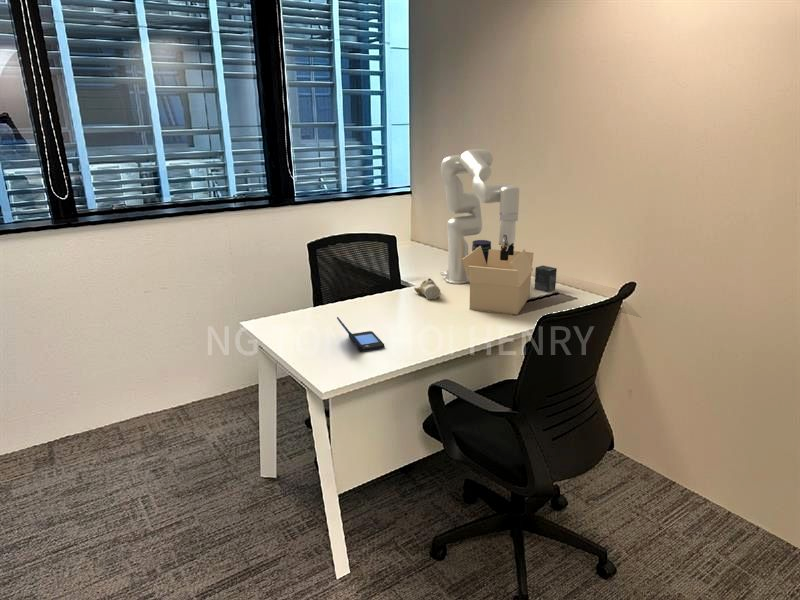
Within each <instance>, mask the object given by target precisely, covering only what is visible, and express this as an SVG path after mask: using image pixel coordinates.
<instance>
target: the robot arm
mask: <svg viewBox="0 0 800 600" xmlns="http://www.w3.org/2000/svg"><path fill="white" fill-rule="evenodd" d="M493 161H494V159H493V155H492V152H490V150H489V149H485V148H481V149H480V148H479V149H467V150H465V151H464V152H463V153H461V154H456V155H455V154H454V155H449V156H446V157H444V158H443V160H442V161H441V165H440V174H441V179H442V180H443V184H444V187H445V198H446V204H447V205H446V206H447V210H448V212H449V213H450V214H451V215H459V216H454V217H451V218H449V220H447V222H446V233H447V240H448V242H447V243H448V245H447V246H448V251H447V252H448V258H447V259H448V263H447V264H448V267H447V269H448V270H447V271H446V270H440V275H441V276H444V281H445V282H446V283H450V284H454V285H455V284H456V285H457V284H458V285H461V284H467V283H470V282H469V279H468V276H467V273H466V270H465V267H464V264H463V261H462V259H463V258H464V257H466V256H467V255H468V254H469V244H468V242H467V241H466V239H465V237H470V236H474V235H475V236H476V235H479V234H480V233H481V232H482V229H483V221H482V217H483V216H482V209H481V203H484V204H494V203H499V216H498V217H499V221H500V225H499V233H498V245H499V246H500V250H501V251H500V260H505V261H507V260H508V255H513V254H514V251H515V242H516V225H517V224H516V222H518V221H519V206H520V205H519V204H520V188H519V187H518V186H515V185H510V184H508V183H494V184H493V183H492V184H486V183H485V182H486V181H487V180H488V179H489V178H490V176H491V175H492V168H491V166H492V164H493ZM458 174H460V175H461V174H462V175H463V174H469V176H471V178H472V182H471V187H472V191H473V192H465V191H464V183H463V181H462V179H461V178H460V177H459V176H458ZM461 214H467V215H463V216H460V215H461Z"/></svg>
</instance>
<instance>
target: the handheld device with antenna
mask: <svg viewBox="0 0 800 600" xmlns="http://www.w3.org/2000/svg"><path fill="white" fill-rule="evenodd" d="M336 319H337V321H338V322H339V324H340V325H341V326H342V328H343V329H344V330H345V332H346V333H347V334H348V338H349V339H350V340H351V342H352V343H353V344H354V345H355V347H356V348H357V350H358V351H359V352H360V353H362V352H367V351H368V352H369V351H373V350H379V349H383V348H385V343H383V341H382V340H381V339H380V338H379V337H378V336H377V334H375V332H373V331H372V330H368V331H362V332H354V333H352V332H351V331H350V330H349V329H348V327H347V326H346V325H345V323H343V321H342V320H341V319H340V318H339V317H338V316H337V317H336Z"/></svg>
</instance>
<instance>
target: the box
mask: <svg viewBox="0 0 800 600" xmlns="http://www.w3.org/2000/svg"><path fill="white" fill-rule="evenodd" d="M557 270H558V269H557V267H551V266H548V265H540V266H536V267H535V272H534V274H535V275H534V276H535V277H534V290H537V291H541V292H546V293H550V292H553V291H556V281H557Z"/></svg>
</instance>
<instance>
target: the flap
mask: <svg viewBox="0 0 800 600" xmlns="http://www.w3.org/2000/svg"><path fill="white" fill-rule="evenodd" d="M519 252H520V253H519V254H518V255H517V257H516V258H515V259H514V260H513V261H512V262H511V263H510V264H511V267H512V269H513V270H518V278H519V286H521V285H522V284H523V282H524V281H525V280H526V278H527V277H528V276H529V275H530V273H531V274H532V272H533V270H534V269H533V265H532V266H531V264H530V261H529V259H528V256H527V254H526V252H527V251H526V250H525V248H524V249H522V250H521V251H519Z"/></svg>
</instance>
